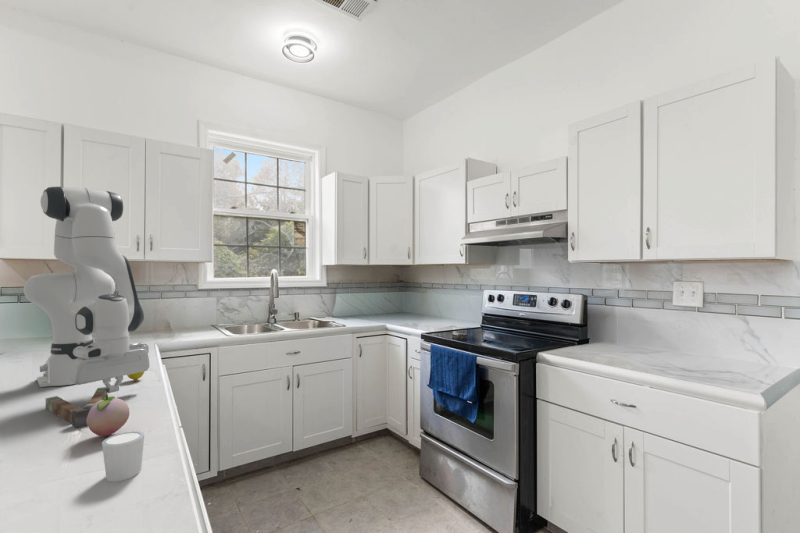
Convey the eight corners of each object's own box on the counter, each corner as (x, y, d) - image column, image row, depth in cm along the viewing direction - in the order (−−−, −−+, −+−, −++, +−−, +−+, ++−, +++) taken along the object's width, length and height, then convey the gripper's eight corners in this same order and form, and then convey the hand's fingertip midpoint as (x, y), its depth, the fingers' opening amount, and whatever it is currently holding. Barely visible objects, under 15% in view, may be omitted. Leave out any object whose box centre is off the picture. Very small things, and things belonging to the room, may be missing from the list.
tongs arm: (97, 416, 109) (97, 405, 109) (85, 418, 107) (85, 407, 107) (107, 396, 126) (107, 386, 126) (97, 398, 125) (97, 388, 125)
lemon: (135, 383, 141) (135, 360, 141) (122, 382, 142) (122, 360, 142) (148, 378, 147) (148, 357, 147) (135, 378, 148) (135, 356, 148)
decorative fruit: (129, 439, 94) (128, 396, 95) (84, 448, 90) (84, 403, 90) (130, 426, 102) (129, 386, 102) (89, 433, 98) (89, 392, 98)
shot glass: (116, 466, 82) (115, 431, 82) (151, 464, 82) (151, 429, 82) (93, 484, 75) (92, 446, 75) (132, 482, 75) (131, 444, 75)
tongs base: (43, 409, 116) (43, 393, 116) (71, 403, 121) (70, 387, 121) (77, 428, 102) (76, 409, 102) (106, 419, 107) (106, 402, 107)
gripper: (143, 340, 135) (144, 381, 135) (68, 352, 118) (69, 399, 118) (153, 342, 132) (153, 384, 132) (77, 354, 115) (77, 403, 115)
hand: (113, 391), depth 125 cm, fingers closed
